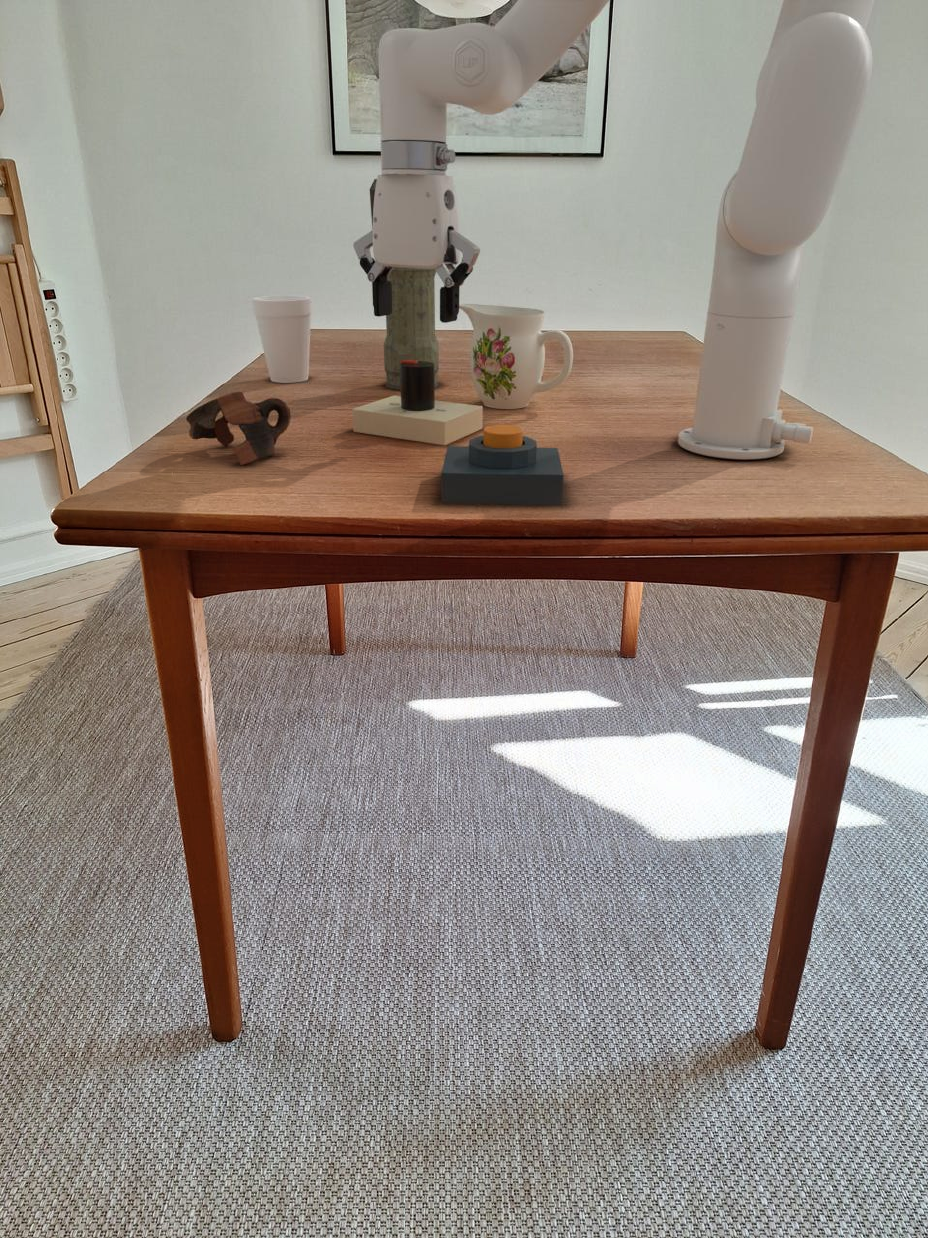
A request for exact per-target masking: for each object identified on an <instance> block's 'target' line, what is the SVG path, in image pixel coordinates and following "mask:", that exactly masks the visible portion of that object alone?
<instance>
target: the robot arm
mask: <svg viewBox="0 0 928 1238" xmlns="http://www.w3.org/2000/svg"><path fill="white" fill-rule="evenodd" d="M875 1H876V0H783V1H782V5H781V8H780V12H779V15H778V19H777V22H776V24H775V25H776V26H775V29H774V32H773V35H772V39H771V42H770V45H769V49H768V51H767V54H766V57H765V59H764V62H763V64H762V66H761V69H760V72H759V74H758V78H757V82H756V88H755V109H754V113H753V116H752V120H751V124H750V127H749V130H748V134H747V138H746V141H745V144H744V148H743V151H742V155H741V159H740V162H739V165H738V168H737V170H736V171H735V172H734V173H733V175H732V176H731V177H730V179H729V181H728V182H727V184H726V186H725V189H724V190H723V193H722V195H721V199H720V203H719V207H718V214H717V223H716V235H715V247H714V257H713V267H712V275H711V284H710V292H709V299H708V307H707V312H706V313H707V314H706V320H705V328H704V335H703V336H704V337H703V344H702V351H701V352H702V353H701V359H700V367H699V375H698V381H697V388H696V389H697V390H696V397H695V403H694V413H693V419H692V427H689V428H686V429H683V430H681V431H680V432H679V433H678V437H677V444H678V445H679V446H680V447H681V448H683V449H685V450H686V451H688V452H690V453H694V454H697V455H701V456H705V457H711V458H717V459H727V460H745V461H747V460H748V461H749V460H762V459H763V460H765V459H770V458H773V457H776V456H779V455H780V454H782V453H783V452H784V449H785V441H792V442H793V443H798V444H799V443H801V444H808V445H809V444H811V441H812V438H813V433H814V426H807V425H806V423H800V422H788V421H787V422H786V419H782V416H783V410H782V409H778V406H779V401H780V395H781V391H782V384H783V378H784V372H785V367H786V361H787V357H788V356H787V355H788V349H789V344H790V338H791V333H792V326H793V322H794V316H795V313H796V306H797V301H798V297H799V290H800V282H801V275H802V268H803V260H804V259H803V258H804V249H805V242H807V241H808V240H809V239H810V238H811V237H812V236H813V235H814V234H815V232H816V231H817V230H818V229H819V227H820V225H821V224H822V222H823V221H824V219H825V217H826V214H827V212H828V210H829V207H830V205H831V202H832V200H833V197H834V194H835V191H836V188H837V186H838V184H839V180H840V177H841V175H842V172H843V169H844V166H845V163H846V161H847V157H848V154H849V151H850V149H851V145H852V142H853V140H854V137H855V133H856V131H857V128H858V124H859V122H860V119H861V116H862V113H863V109H864V106H865V103H866V101H867V98H868V97H867V96H868V93H869V90H870V86H871V82H872V81H871V80H872V76H873V68H874V67H873V65H874V58H873V57H874V56H873V49H872V45H871V41H870V38H869V36H868V34H867V32H866V31H867V28H868V25H869V21H870V18H871V16H872V12H873V8H874V4H875ZM609 2H610V0H516V2H515V3H514V4H513V6H512V7H510V9H509V10H508V11H507V13H505V15H503V17H502V18H501V19H500V20H499V21H498V22H497V23H496V24H495V25H494V26H491V25H489V24H487V23H484V22H467V23H461V24H457V25H452V26H448V27H443V28H436V29H425V28H418V27H417V28H414V27H413V28H412V27H408V28H407V27H406V28H405V27H404V28H395V29H390V30H388V31H386V32H384V33H383V34H382V35H381V36H380V40H379V43H378V55H377V56H378V88H379V89H378V90H379V91H378V93H379V121H380V122H379V123H380V165H381V166H380V171H381V173H380V174H377V175H376V179H377V182H376V188H375V196H374V207H373V230H370V231H369V232H367V233H366V234H364V235H362V236H361V237H359V238H358V239H356V240H354V242H353V248H354V251H355V253H356V256H357V259H358V260H359V266H360V267H361V269H362V270H363V271H364V273H365V274H366V276H367V280H368V282H370V283H371V287H372V288H371V289H372V291H371V292H372V293H371V294H372V306H373V316H374V317H386V315H390V314H391V313H392V284H391V281H387V278H388V276H389V275H390V273H391V272H392V270H393V269H394V267H402V268H419V269H435V270H436V275H438V277H439V279H441V282H442V283H443V286H441V287H440V288H439V322H440V323H444V324H447V323H452V322H455V321H458V316H459V313H460V308H459V304H460V289H461V286H463V285H464V283H465V280H466V279H467V278H468V277H469V276H470V275H471V274H472V272H473V270H474V266H475V264H476V262H477V261H478V258H479V255H480V253H481V249H480V247H479V246H478V245H476V244H475V243H474V242H472V241H470V240H469V239H468V238H467V237H465V236H464V235H462V234H461V233H460V219H459V218H460V217H459V207H458V199H457V193H456V186H455V181H454V177H453V175H447V171H448V165H449V164H454V163H455V161H456V152H455V150H454V149H449V148H448V143H447V104H450V105H458V106H461V107H464V108H466V109H470V110H472V111H474V112H476V113H478V114H482V115H487V116H493V115H497V114H500V113H502V112H504V111H507V110H508V109H509V108H511V107H512V106H513V105H514V104H515V103H517V102H518V101H519V100H520V99H521V98H522V97H523V96H524V95H525V94H526V93H527V92H529V90H530V89H531V88H532V87H533V86H534V85H535V84H536V83H538V81H539V80H540V79H542V77H543V76H544V75H546V73H548V71H549V70H550V69H552V67H553V66H555V64H556V63H557V62H558V61H559V60H560V59H561V58H562V56H563V55H564V54H565V53H566V52H567V51H568V50H569V49H570V48H571V46H572V45H573V44H574V43H575V42H576V41H577V39H579V37H580V36H581V34H582V33H584V32H585V30H586V29H587V28H588V27H589V26H590V25H591V24H592V23H593V22H594V21H595V20H596V18H597V17H598V16H599V15H600V14H601V12H602V11H603V9H604V8H605V7H606V6H607V5H608V3H609ZM381 169H382V170H381ZM371 248H372V252H373V253H372V254H373V256H372V254H371ZM461 253H462V257H461ZM373 257H374V258H373ZM460 257H461V261H460ZM459 262H460V263H459Z"/></svg>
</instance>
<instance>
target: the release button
mask: <svg viewBox="0 0 928 1238" xmlns="http://www.w3.org/2000/svg"><path fill="white" fill-rule="evenodd" d="M482 436H483V445H484V446H486V447H491V448H516V447H521V446H522V438H523V436H524V430H523V428H522V427H520V426H517V425H511V424H493V425H488V426H485V427H484V428H483V435H482Z"/></svg>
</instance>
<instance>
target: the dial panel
mask: <svg viewBox="0 0 928 1238" xmlns="http://www.w3.org/2000/svg"><path fill="white" fill-rule="evenodd" d="M351 412H352V413H351V415H352V428H353V429H352V431H353V432H354V433H358V434H364V435H373V436H379V437H384V438H391V439H392V438H393V439H399V440H407V441H413V442H421V443H427V444H433V445H440V446H446V445H449V444H451V443H454V442H455V441H457V440H460V439H463V438H465V437H467V436H469V435H472V434H474V433H476V432H478V431H480V430H482V429H483V415H484V414H483V413H484V411H483V406H482V405H476V404H468V403H461V402H460V403H459V402H452V401H445V400H444V401H443V400H435V407H434V408H433V409H430V410H424V411H411V410H405V409H402V408H401V395H395V394H394V395H390V396H388V397H386V398H382V399H378V400H376V401H372V402H369V403H367V404H364V405H361V406H357V407H355V408H352V409H351Z"/></svg>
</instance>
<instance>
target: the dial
mask: <svg viewBox="0 0 928 1238" xmlns="http://www.w3.org/2000/svg"><path fill="white" fill-rule="evenodd" d="M400 387H401V390H400V396H401V408H402V409H405V410H411V411H424V410H430V409H433V408H434V407H435V399H436V398H435V393H436V392H435V388H434V363H432V362H427V361H412V360H402V363H400Z"/></svg>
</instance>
